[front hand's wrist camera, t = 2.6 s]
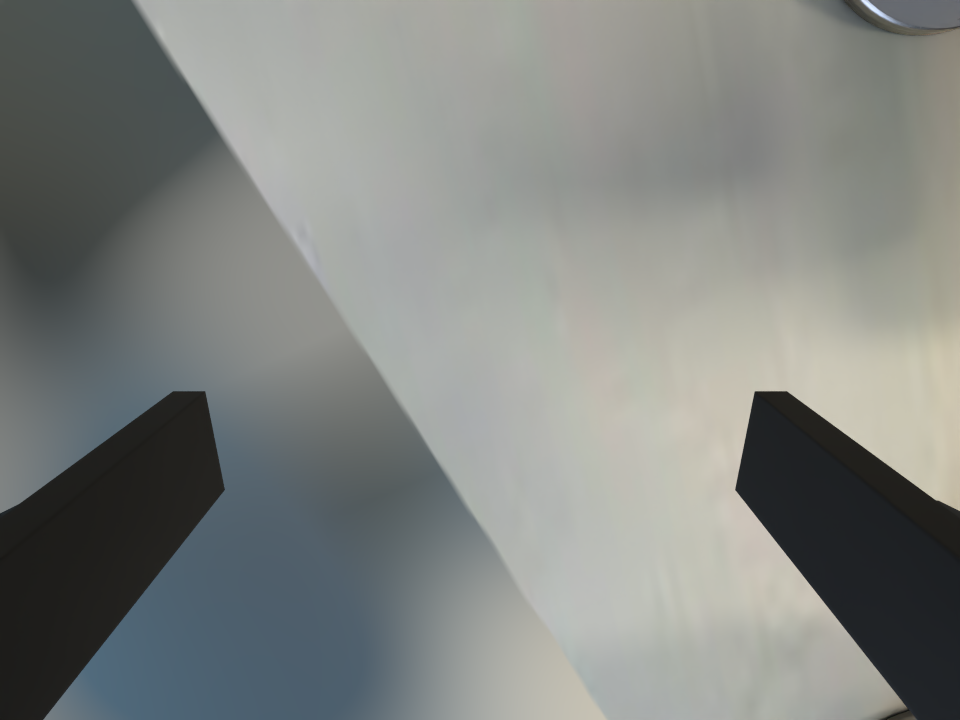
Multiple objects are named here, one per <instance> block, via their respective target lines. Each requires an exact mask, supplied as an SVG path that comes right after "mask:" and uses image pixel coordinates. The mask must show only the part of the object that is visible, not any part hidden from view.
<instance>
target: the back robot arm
mask: <svg viewBox="0 0 960 720" xmlns="http://www.w3.org/2000/svg"><path fill="white" fill-rule="evenodd" d="M887 720H917V719H916V718H915V717H914V715H913V714H912V713H911V712H910V711H908V712H904V713H901V714H898V715H896V716H893V717H891V718H889V719H887Z"/></svg>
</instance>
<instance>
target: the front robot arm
mask: <svg viewBox="0 0 960 720" xmlns="http://www.w3.org/2000/svg"><path fill="white" fill-rule="evenodd" d="M844 1H845V2H846V3H847V5H848V6H849V7H850V8H851V9H852V10H853V11H854V12H855V13H857V14H858V15H859V16H860V17H862V18H863V19H864V20H866V21H867V22H869V23H871V24H873V25H875V26H877V27H879V28H881V29H884V30H887V31H890V32H894V33H898V34H905V35H930V34H938V33H942V32H947V31H951V30H954V29H958V28H960V0H844ZM224 490H225V489H224V484H223V479H222V474H221V469H220V464H219V459H218V454H217V449H216V444H215V438H214V434H213V428H212V423H211V418H210V413H209V408H208V403H207V398H206V393H205V391H173V392H172V393H170V394H169V395H168V396H166V397H165V398H163V399H162V400H161V401H159V402H158V403H157V404H155V405H154V406H153V407H151V408H150V409H149V410H147V411H146V412H144V413H143V414H142V415H140V416H139V417H138V418H136V419H135V420H133V421H132V422H131V423H129V424H128V425H127V426H125V427H124V428H123V429H121V430H120V431H118V432H117V433H116V434H114V435H113V436H112V437H110V438H109V439H108V440H106V441H105V442H103V443H102V444H101V445H99V446H98V447H97V448H95V449H94V450H92V451H91V452H90V453H88V454H87V455H86V456H84V457H83V458H82V459H80V460H79V461H77V462H76V463H75V464H73V465H72V466H71V467H69V468H68V469H67V470H65V471H64V472H63V473H61V474H60V475H58V476H57V477H56V478H54V479H53V480H52V481H50V482H49V483H47V484H46V485H45V486H43V487H42V488H41V489H39V490H38V491H37V492H35V493H34V494H32V495H31V496H30V497H28V498H27V499H26V500H24V501H23V502H21V503H20V504H18V505H16V506H14V507H12V508H10V509H8V510H6V511H4V512H2V513H0V720H43V719H44V718H45V717H46V715H47V714H48V713H49V712H50V710H51V709H52V708H53V707H54V705H55V704H56V703H57V701H58V700H59V699H60V698H61V696H62V695H63V694H64V693H65V691H66V690H67V689H68V687H69V686H70V685H71V684H72V682H73V681H74V680H75V679H76V677H77V676H78V675H79V674H80V672H81V671H82V670H83V669H84V667H85V666H86V665H87V663H88V662H89V661H90V660H91V658H92V657H93V656H94V655H95V653H96V652H97V651H98V650H99V648H100V647H101V646H102V644H103V643H104V642H105V641H106V639H107V638H108V637H109V636H110V634H111V633H112V632H113V631H114V629H115V628H116V627H117V626H118V624H119V623H120V622H121V620H122V619H123V618H124V617H125V615H126V614H127V613H128V612H129V610H130V609H131V608H132V606H133V605H134V604H135V603H136V601H137V600H138V599H139V598H140V596H141V595H142V594H143V593H144V591H145V590H146V589H147V588H148V586H149V585H150V584H151V582H152V581H153V580H154V579H155V577H156V576H157V575H158V574H159V572H160V571H161V570H162V569H163V567H164V566H165V565H166V563H167V562H168V561H169V560H170V558H171V557H172V556H173V555H174V553H175V552H176V551H177V550H178V548H179V547H180V546H181V544H182V543H183V542H184V541H185V539H186V538H187V537H188V536H189V534H190V533H191V532H192V531H193V529H194V528H195V527H196V525H197V524H198V523H199V522H200V520H201V519H202V518H203V517H204V515H205V514H206V513H207V512H208V510H209V509H210V508H211V506H212V505H213V504H214V503H215V501H216V500H217V499H218V498H219V496H220V495H221V494H222V493H223V491H224ZM735 490H736V491H737V493H738V494H739V495H740V496H741V498H742V499H743V500H744V501H745V503H746V504H747V505H748V507H749V508H750V509H751V510H752V512H753V513H754V514H755V515H756V517H757V518H758V519H759V520H760V522H761V523H762V524H763V526H764V527H765V528H766V529H767V531H768V532H769V533H770V534H771V536H772V537H773V538H774V539H775V541H776V542H777V543H778V545H779V546H780V547H781V548H782V550H783V551H784V552H785V553H786V555H787V556H788V557H789V558H790V560H791V561H792V562H793V563H794V565H795V566H796V567H797V569H798V570H799V571H800V572H801V574H802V575H803V576H804V577H805V579H806V580H807V581H808V582H809V584H810V585H811V586H812V588H813V589H814V590H815V591H816V593H817V594H818V595H819V596H820V598H821V599H822V600H823V601H824V603H825V604H826V605H827V607H828V608H829V609H830V610H831V612H832V613H833V614H834V615H835V617H836V618H837V619H838V620H839V622H840V623H841V624H842V626H843V627H844V628H845V629H846V631H847V632H848V633H849V634H850V636H851V637H852V638H853V639H854V641H855V642H856V643H857V644H858V646H859V647H860V648H861V650H862V651H863V652H864V653H865V655H866V656H867V657H868V658H869V660H870V661H871V662H872V663H873V665H874V666H875V667H876V669H877V670H878V671H879V672H880V674H881V675H882V676H883V677H884V679H885V680H886V681H887V682H888V684H889V685H890V686H891V688H892V689H893V690H894V691H895V693H896V694H897V695H898V696H899V698H900V699H901V700H902V701H903V703H904V704H905V705H906V707H907V708H908V709H909V710H910V712H911V713H912V714H913V715H914V717H915V718H916V719H917V720H960V511H958V510H956V509H954V508H952V507H950V506H948V505H946V504H944V503H942V502H940V501H936V500H934V499H933V498H932V497H930V496H929V495H928V494H926V493H925V492H924V491H922V490H921V489H919V488H918V487H917V486H915V485H914V484H913V483H911V482H910V481H908V480H907V479H906V478H904V477H903V476H902V475H900V474H899V473H898V472H896V471H895V470H893V469H892V468H891V467H889V466H888V465H887V464H885V463H884V462H883V461H881V460H880V459H878V458H877V457H876V456H874V455H873V454H872V453H870V452H869V451H868V450H866V449H865V448H863V447H862V446H861V445H859V444H858V443H857V442H855V441H854V440H853V439H851V438H850V437H848V436H847V435H846V434H844V433H843V432H842V431H840V430H839V429H837V428H836V427H835V426H833V425H832V424H831V423H829V422H828V421H827V420H825V419H824V418H822V417H821V416H820V415H818V414H817V413H816V412H814V411H813V410H812V409H810V408H809V407H807V406H806V405H805V404H803V403H802V402H801V401H799V400H798V399H797V398H795V397H794V396H792V395H791V394H790V393H788V392H787V391H755V393H754V398H753V403H752V408H751V413H750V418H749V423H748V428H747V433H746V438H745V443H744V449H743V454H742V459H741V464H740V469H739V474H738V479H737V484H736V489H735Z"/></svg>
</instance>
